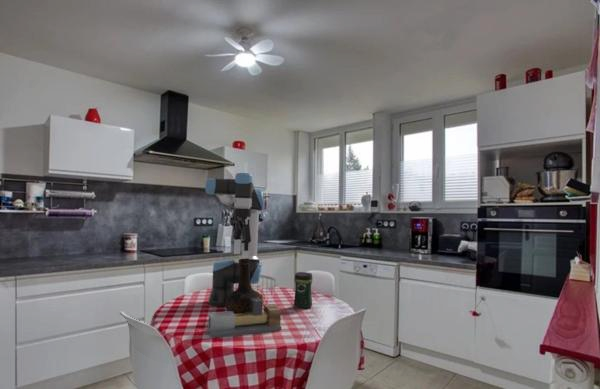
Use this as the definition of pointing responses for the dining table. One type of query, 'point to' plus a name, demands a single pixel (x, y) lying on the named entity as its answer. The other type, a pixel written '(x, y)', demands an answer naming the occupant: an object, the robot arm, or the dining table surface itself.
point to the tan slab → (252, 314)
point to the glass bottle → (242, 291)
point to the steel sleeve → (221, 321)
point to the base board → (245, 330)
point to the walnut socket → (273, 315)
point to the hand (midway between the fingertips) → (240, 256)
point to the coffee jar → (303, 290)
